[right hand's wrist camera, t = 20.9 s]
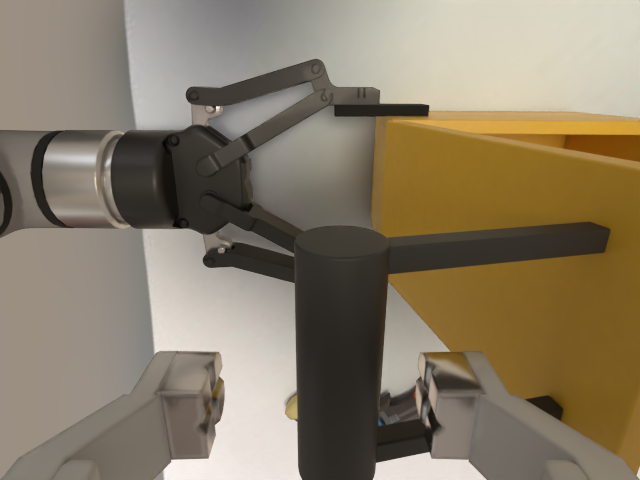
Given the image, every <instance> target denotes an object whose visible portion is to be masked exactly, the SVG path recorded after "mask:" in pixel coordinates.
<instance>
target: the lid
mask: <svg viewBox="0 0 640 480" xmlns="http://www.w3.org/2000/svg"><path fill="white" fill-rule="evenodd" d="M294 262H295V315H296V368H297V422H298V468H299V473H300V476H301V478H302V480H373V477H374V474H375V466H376V463H377V462H382V461H387V460H392V459H397V458H402V457H406V456H411V455H416V454H421V453H426V452H429V449H428V445H427V442H426V439H425V436H424V434H425V424H423V423H422V422H421V421H420V419H414V420H409V421H403V422H398V423H392V424H387V425H381V426H378V421H379V406H380V391H381V376H382V361H383V346H384V331H385V317H386V302H387V287H388V281H389V283H390V284H391V285H392V286H393V287H394V288H395V289H396V290H397V292H398V293H399V294H400V295H401V296H402V297H403V298H404V299H405V301H406V302H407V303H408V304H409V305H410V306H411V307H412V308H413V310H414V311H415V312H416V313H417V314H418V315H419V316H420V317H421V318H422V320H423V321H424V322H425V323H426V324H427V325H428V326H429V327H430V329H431V330H432V331H433V332H434V333H435V334H436V335H437V336H438V338H439V339H440V340H441V341H442V342H443V343H444V344H445V345H446V347H447V348H448V349H449V350H450V351H451V352H460V351H481V352H483V353H484V354H485V356H486V357H487V359H488V360H489V362H490V364H491V365H492V367H493V368H494V370H495V372H496V373H497V375H498V376H499V378H500V379H501V381H502V383H503V384H504V386H505V387H506V389H507V390H508V392H509V394H510V395H518V396H520V397H521V398H523V399H524V400H526V401H528V402H529V403H531V404H533V405H534V406H536V407H538V408H539V409H541V410H543V411H544V412H546V413H548V414H549V415H551V416H553V417H554V418H556V419H558V420H559V421H561V422H563V423H564V424H566V425H568V426H569V427H571V428H573V429H574V430H576V431H578V432H579V433H581V434H582V435H584V436H586V437H587V438H589V439H591V440H592V441H594V442H596V443H597V444H599V445H601V446H602V447H604V448H606V449H607V450H609V451H611V452H612V453H614V454H616V455H617V456H619V457H621V458H622V459H623V460H624V461H625V462H626V464H627V465H628V466H629V467H630V469H631V470H632V471H633V472H634V473H635V475H637V472H638V470H639V467H640V162H636V161H631V160H625V159H619V158H614V157H608V156H602V155H596V154H591V153H585V152H579V151H574V150H568V149H562V148H556V147H551V146H545V145H539V144H534V143H528V142H522V141H516V140H511V139H505V138H499V137H493V136H488V135H482V134H476V133H471V132H465V131H459V130H453V129H448V128H442V127H436V126H431V125H425V124H419V123H413V122H408V121H402V120H395V121H387V124H386V142H385V159H384V177H383V194H382V212H381V229H380V233H378V232H376V231H373V230H370V229H366V228H361V227H354V226H325V227H319V228H314V229H310V230H307V231H305V232H303V233H301V234H299V235H298V236H297V237H296V239H295V241H294Z"/></svg>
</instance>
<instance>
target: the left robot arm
mask: <svg viewBox="0 0 640 480" xmlns="http://www.w3.org/2000/svg"><path fill="white" fill-rule="evenodd" d="M309 81H311V82H312V85H313V88H314V91H315V93H313V94H311V95H310V96H308V97H306V98H305V99H303V100H301V101H300V102H298V103H296V104H295V105H293V106H291V107H290V108H288V109H286V110H285V111H283V112H281V113H280V114H278V115H276V116H275V117H273V118H271V119H270V120H268V121H266V122H265V123H263V124H261V125H260V126H258V127H256V128H255V129H253V130H251V131H250V132H248V133H246V134H245V135H243V136H241V137H239V138H238V139H236V140H234V141H233V142H232V141H231V140H229V139H228V138H226V137H225V136H223V135H222V134H221V133H219V132H218V131H216V130H215V129H214V128H212V127H211V126H209V121H210V119H211V118H213V117H216V116H219V115H220V114H221V113H222V111H223V106H225V105H231V104H236V103H240V102H243V101H246V100H249V99H253V98H256V97H259V96H263V95H266V94H269V93H273V92H276V91H279V90H283V89H286V88H289V87H293V86H296V85H299V84H303V83H306V82H309ZM186 98H187V100H188V102H190V103H191V104H192V125H191V126H189V127H188V128H186V129H184V130H178V131H176V130H131V131H128V132H126V133H123V132H121V131H118V130H65V131H15V130H0V238H1V237H3V236H5V235H7V234H9V233H12V232H14V231H17V230H20V229H25V228H121V229H124V228H127V227H129V226H132V227H134V228H137V229H185V228H187V229H192V230H195V231H197V232H199V233H201V234H203V237H204V242H205V248H206V254H205V256H204V258H203V263H204V265H205V266H207V267H209V268H216V267H236V268H239V269H243V270H247V271H251V272H255V273H258V274H262V275H266V276H270V277H274V278H277V279H281V280H285V281H289V282H293V283H295V262H294V257H293V256H289V255H285V254H282V253H278V252H274V251H270V250H267V249H263V248H259V247H256V246H252V245H248V244H244V243H237V242H233V241H232V240H231V239H230V238H229V237H225V236H222V235H221V234H220V233H219V232H218V230H220V229H221V228H222V227H224V226H225V225H226V224H228V223H229V222H230V223H232V224H234V225H236V226H238V227H240V228H242V229H244V230H246V231H253V232H255V233H257V234H258V235H260V236H262V237H264V238H266V239H268V240H270V241H272V242H274V243H276V244H277V245H279V246H281V247H283V248H285V249H287V250H289V251H291V252H293V253H294V241H295V239H296V237H297V236H298V235H299V234H301V233H303V232H304V231H302V230H300V229H298V228H297V227H295V226H293V225H291V224H289V223H287V222H285V221H284V220H282V219H280V218H278V217H276V216H274V215H272V214H271V213H269V212H267V211H265V210H264V209H263V208H262V207H261V206H259V205H258V204H256V203H254V202H252V201H251V199H252V197H253V194H252V186H251V183H250V180H249V176H250V171H251V159H249V158H248V156H247V153H249V152H250V151H252V150H253V149H255V148H257V147H258V146H260V145H262V144H263V143H265V142H267V141H269V140H270V139H272V138H274V137H275V136H277V135H279V134H280V133H282V132H284V131H286V130H287V129H289V128H291V127H292V126H294V125H296V124H297V123H299V122H301V121H303V120H304V119H306V118H308V117H309V116H311V115H313V114H314V113H316V112H318V111H320V110H321V109H323V108H325V107H326V106H328V105H334V115H335V116H371V117H386V116H428V114H429V105H424V104H379V99H380V90H378V89H375V88H373V87H336V86H334V85H332V84H331V82H330V81H329V78H328V75H327V72H326V69H325V66H324V64H323V62H322V61H321V60H318V59H313V60H310V61H307V62H303V63H300V64H297V65H294V66H290V67H287V68H284V69H280V70H277V71H274V72H271V73H267V74H264V75H261V76H258V77H254V78H251V79H248V80H245V81H241V82H238V83H235V84H232V85H228V86H225V87H222V88H213V87H190V88H189V89H188V90H187V91H186Z"/></svg>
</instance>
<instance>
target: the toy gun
mask: <svg viewBox="0 0 640 480" xmlns="http://www.w3.org/2000/svg"><path fill="white" fill-rule="evenodd" d="M415 392H416V391H415ZM415 392H414V393H413V394H412V395H411V396H409V397H407V398H405V399H403V400H401V401H398V402H395V403H391V404H390V401H391V397H390V393H388V394H387V395H386V396H385V397H383V398H382V399H381V400H380V406H379V421H378V426H381V425H387V424H392V423H398V422H403V421H409V420H414V419H419V415H418V412H417V406H416V393H415ZM285 414H286V415H287V417H288V418H289V419H294V420H296V421H297V394H296V395H295V396H294V397H293V398H291V400H290V401H289V402H288V404H287V406H286V410H285ZM380 415H381V416H380Z"/></svg>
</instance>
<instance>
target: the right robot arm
mask: <svg viewBox="0 0 640 480" xmlns="http://www.w3.org/2000/svg"><path fill="white" fill-rule="evenodd" d="M221 369H222V360H221V355H220V353H219V352H198V351H180V352H179V351H159V352H157V353H156V354H155V355H154V357H153V359H152V360H151V362H150V363H149V365H148V366H147V368H146V370H145V371H144V373H143V375H142V376H141V378H140V379H139V381H138V383H137V384H136V386H135V387H134V389H133V391H132V392H131V394H130V395H122V396H121V397H119V398H117V399H116V400H114V401H112V402H111V403H109V404H107V405H106V406H104V407H102V408H101V409H99V410H97V411H96V412H94V413H92V414H91V415H89V416H87V417H86V418H84V419H82V420H81V421H79V422H77V423H76V424H74V425H72V426H71V427H69V428H67V429H66V430H64V431H62V432H61V433H59V434H57V435H56V436H54V437H52V438H51V439H49V440H47V441H46V442H44V443H42V444H41V445H39V446H37V447H36V448H34V449H32V450H31V451H29V452H27V453H26V454H24V455H23V456H21V457H19V458H18V459H17V460H16V462H15V463H14V464H13V465H12V466H11V468H10V469H9V470H8V471H7V473H6V474H5V475H4V476H3V477H2V479H1V480H153V479H154V478H155V477H156V476H157V475H158V474H159V473H160V472H161V471H162V470H163V469H164V468H165V467H166V466H167V465H168V464H169V463H170V462H171V460H173V459H207V458H209V455H210V452H211V449H212V446H213V442H214V439H215V436H216V433H215V424H217V423H218V422H219V421H220V419H221V416H222V412H223V406H224V381H223V380H222V379H221V378H220V377H219V375H220V372H221ZM418 369H419V372H420V374H421V377H420V378H419V379H418V380H417V381H416V392H415V393H416V406H417V412H418V415H419V419H420V421H421V422H422V423H423V424H425V434H424V436H425V439H426V442H427V445H428V449H429V452H430V455H431V458H432V459H467V460H469V462H470V463H471V464H472V465H473V466H474V467H475V468H476V469H477V470H478V471H479V472H480V473H481V474H482V475H483V476H484V477H485V478H486V479H487V480H639V478H638V477H637V476H636V475H635V473H634V472H633V471H632V470H631V469H630V467H629V466H628V465H627V464H626V462H625V461H624V460H623V459H622V458H621V457H619V456H617V455H616V454H614V453H612V452H611V451H609V450H607V449H606V448H604V447H602V446H601V445H599V444H597V443H596V442H594V441H592V440H591V439H589V438H587V437H586V436H584V435H582V434H581V433H579V432H578V431H576V430H574V429H573V428H571V427H569V426H568V425H566V424H564V423H563V422H561V421H559V420H558V419H556V418H554V417H553V416H551V415H549V414H548V413H546V412H544V411H543V410H541V409H539V408H538V407H536V406H534V405H533V404H531V403H529V402H528V401H526V400H524V399H523V398H521V397H520V396H518V395H510V394H509V392H508V390H507V389H506V387H505V386H504V384H503V383H502V381H501V379H500V378H499V376H498V375H497V373H496V372H495V370H494V368H493V367H492V365H491V364H490V362H489V360H488V359H487V357H486V356H485V354H484V353H483V352H481V351H460V352H420V355H419V359H418Z"/></svg>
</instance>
